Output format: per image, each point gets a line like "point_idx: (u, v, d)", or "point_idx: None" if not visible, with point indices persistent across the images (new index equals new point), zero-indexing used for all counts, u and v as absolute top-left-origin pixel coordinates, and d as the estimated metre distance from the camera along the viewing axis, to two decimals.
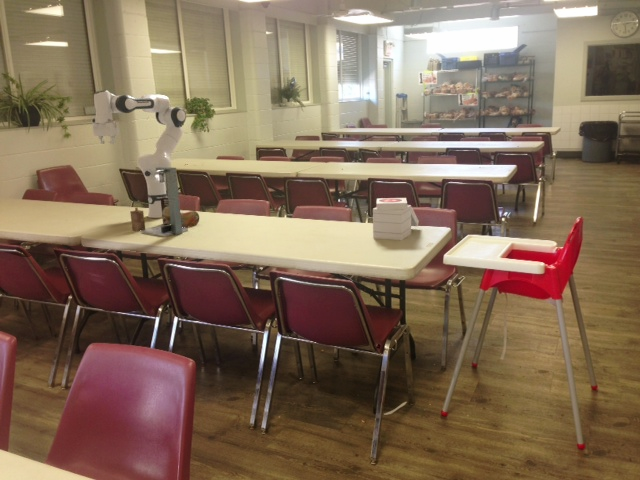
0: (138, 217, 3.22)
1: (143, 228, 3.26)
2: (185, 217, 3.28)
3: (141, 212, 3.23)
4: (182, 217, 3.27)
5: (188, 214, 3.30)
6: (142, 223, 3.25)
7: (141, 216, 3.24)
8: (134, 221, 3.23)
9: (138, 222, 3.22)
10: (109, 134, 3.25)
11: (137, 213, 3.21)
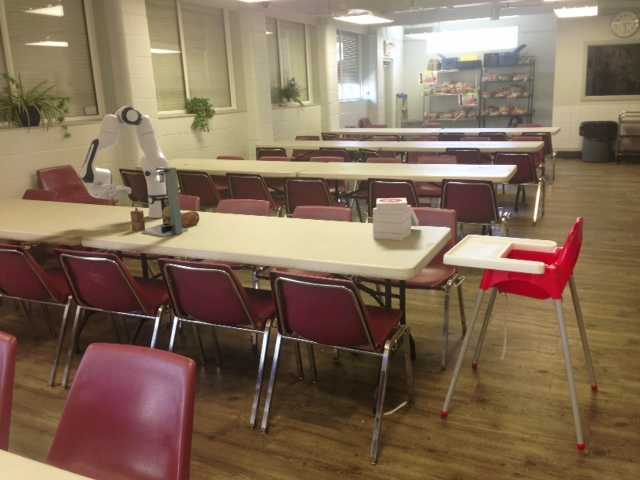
0: (138, 217, 3.22)
1: (143, 228, 3.26)
2: (185, 217, 3.28)
3: (141, 212, 3.23)
4: (182, 217, 3.27)
5: (188, 214, 3.30)
6: (142, 223, 3.25)
7: (141, 216, 3.24)
8: (134, 221, 3.23)
9: (138, 222, 3.22)
10: (107, 197, 3.28)
11: (137, 213, 3.21)
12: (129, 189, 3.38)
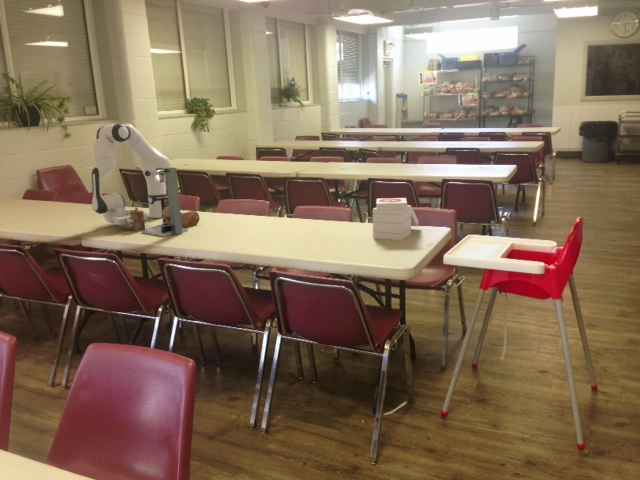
0: (138, 217, 3.22)
1: (143, 228, 3.26)
2: (185, 217, 3.28)
3: (141, 212, 3.23)
4: (182, 217, 3.27)
5: (188, 214, 3.30)
6: (142, 223, 3.25)
7: (141, 216, 3.24)
8: None
9: (138, 222, 3.22)
10: (124, 223, 3.24)
11: (137, 213, 3.21)
12: (145, 214, 3.33)
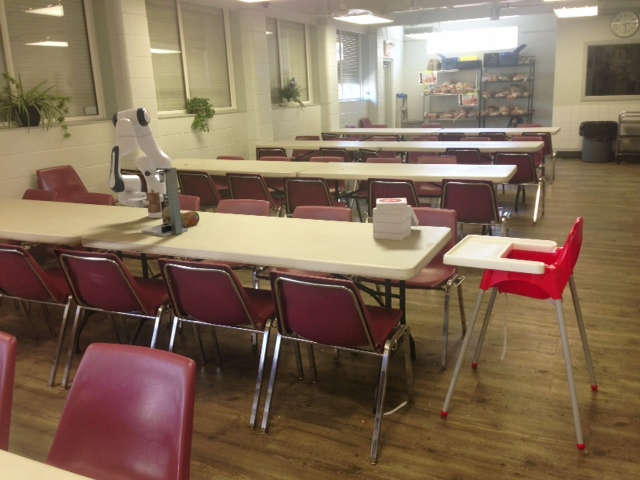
0: (154, 198, 3.13)
1: (159, 210, 3.17)
2: (185, 217, 3.28)
3: (157, 193, 3.15)
4: (182, 217, 3.27)
5: (188, 214, 3.30)
6: (158, 204, 3.16)
7: (157, 197, 3.15)
8: None
9: (154, 204, 3.14)
10: (140, 205, 3.15)
11: (153, 194, 3.13)
12: (161, 197, 3.25)
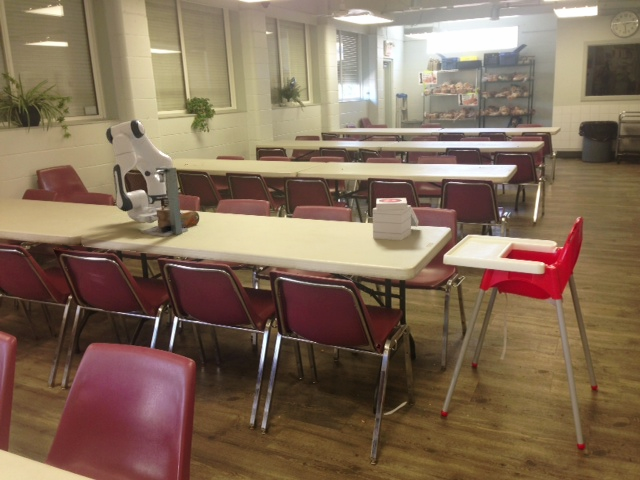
0: (164, 216, 3.14)
1: None
2: (185, 217, 3.28)
3: (167, 211, 3.15)
4: (182, 217, 3.27)
5: (188, 214, 3.30)
6: (168, 222, 3.17)
7: (168, 214, 3.16)
8: (160, 220, 3.15)
9: (164, 221, 3.14)
10: None
11: (163, 212, 3.13)
12: None
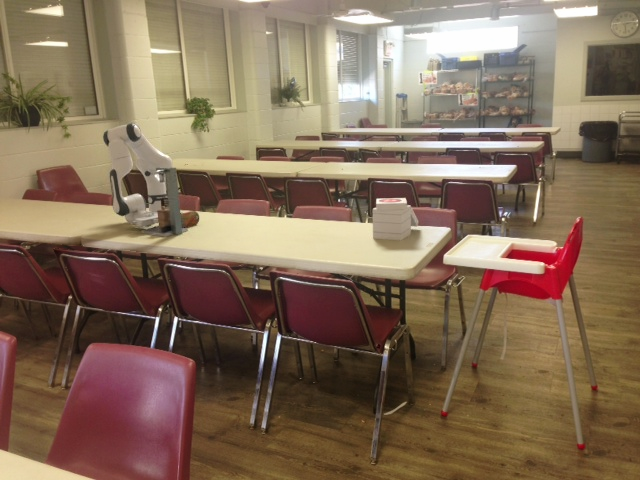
0: (165, 216, 3.14)
1: None
2: (185, 217, 3.28)
3: (168, 211, 3.15)
4: (182, 217, 3.27)
5: (188, 214, 3.30)
6: (169, 222, 3.16)
7: (169, 215, 3.15)
8: (161, 220, 3.14)
9: (165, 221, 3.14)
10: (147, 225, 3.17)
11: (164, 212, 3.13)
12: None
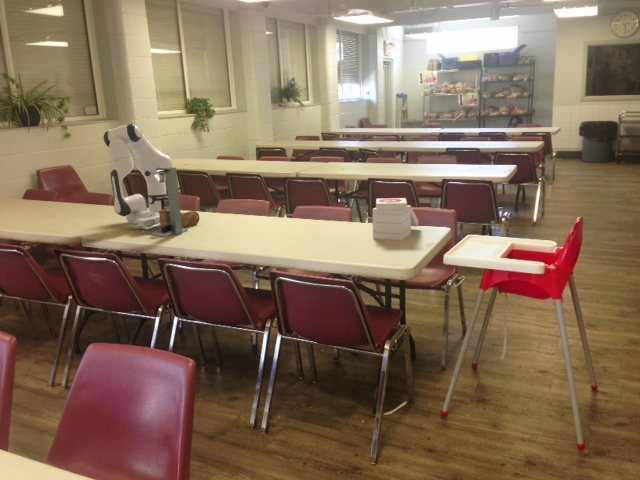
0: (167, 216, 3.13)
1: None
2: (185, 217, 3.28)
3: None
4: (182, 217, 3.27)
5: (188, 214, 3.30)
6: None
7: None
8: (163, 221, 3.14)
9: (167, 221, 3.13)
10: (148, 225, 3.17)
11: (166, 212, 3.12)
12: None
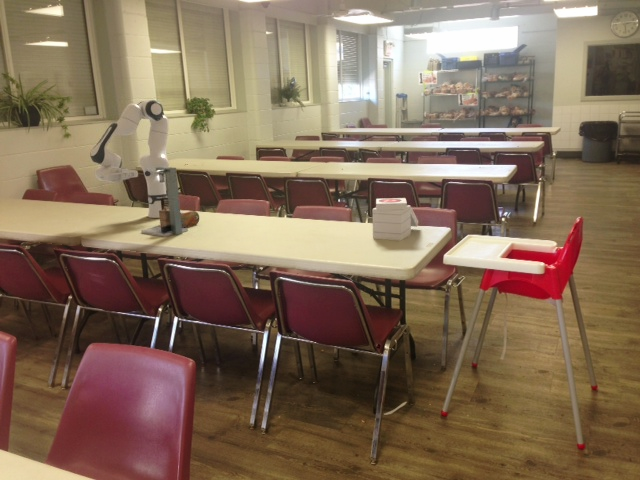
0: (167, 216, 3.13)
1: None
2: (185, 217, 3.28)
3: None
4: (182, 217, 3.27)
5: (188, 214, 3.30)
6: None
7: None
8: (163, 221, 3.14)
9: (167, 221, 3.13)
10: (114, 180, 3.25)
11: (166, 212, 3.12)
12: (136, 172, 3.35)
